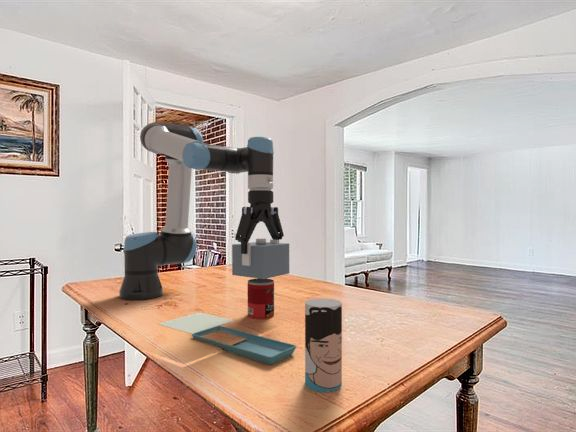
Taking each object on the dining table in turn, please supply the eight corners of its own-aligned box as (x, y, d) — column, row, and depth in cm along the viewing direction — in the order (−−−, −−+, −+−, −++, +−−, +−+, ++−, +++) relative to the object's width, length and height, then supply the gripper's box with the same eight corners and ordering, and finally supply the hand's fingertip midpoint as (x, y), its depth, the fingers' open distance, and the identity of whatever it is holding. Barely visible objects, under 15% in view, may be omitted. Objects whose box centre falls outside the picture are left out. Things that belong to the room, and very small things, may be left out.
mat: (157, 325, 108) (157, 323, 108) (199, 314, 120) (199, 312, 120) (193, 336, 99) (193, 333, 99) (234, 322, 111) (234, 320, 111)
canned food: (270, 321, 112) (270, 283, 111) (244, 320, 113) (244, 282, 113) (276, 314, 119) (276, 278, 119) (251, 313, 121) (251, 277, 120)
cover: (232, 275, 115) (232, 239, 114) (259, 269, 124) (258, 236, 124) (263, 279, 107) (263, 241, 107) (289, 273, 117) (289, 238, 117)
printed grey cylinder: (307, 392, 68) (307, 307, 68) (303, 376, 75) (303, 298, 75) (345, 391, 69) (345, 306, 68) (338, 375, 75) (338, 298, 75)
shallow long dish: (190, 342, 96) (190, 332, 96) (218, 333, 103) (218, 323, 103) (270, 369, 79) (270, 357, 79) (297, 356, 86) (297, 345, 86)
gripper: (241, 187, 103) (242, 268, 104) (294, 191, 123) (295, 259, 123) (221, 188, 108) (222, 266, 108) (276, 192, 127) (276, 257, 128)
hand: (261, 263), depth 116 cm, fingers closed on cover, 12 cm apart
